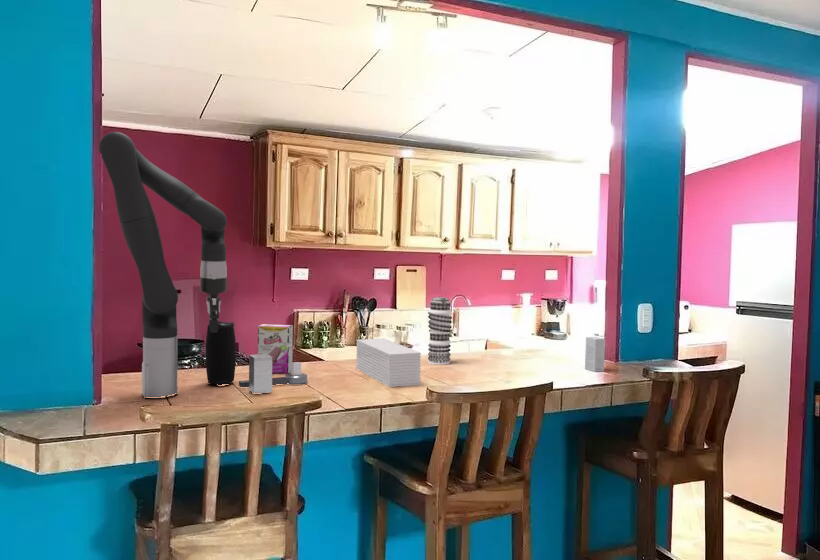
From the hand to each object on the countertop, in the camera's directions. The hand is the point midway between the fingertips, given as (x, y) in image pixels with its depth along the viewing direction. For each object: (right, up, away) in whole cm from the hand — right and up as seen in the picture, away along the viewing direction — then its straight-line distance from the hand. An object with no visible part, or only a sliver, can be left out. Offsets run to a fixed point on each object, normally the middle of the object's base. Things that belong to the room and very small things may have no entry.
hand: (213, 329), depth 190 cm
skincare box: (+127, -19, +44) cm, 136 cm away
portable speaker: (-1, -18, +10) cm, 21 cm away
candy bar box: (+12, -17, +30) cm, 36 cm away
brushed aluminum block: (+14, -19, 0) cm, 23 cm away
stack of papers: (+51, -18, +26) cm, 60 cm away
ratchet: (+16, -18, +10) cm, 26 cm away
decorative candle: (+70, -17, +53) cm, 90 cm away
